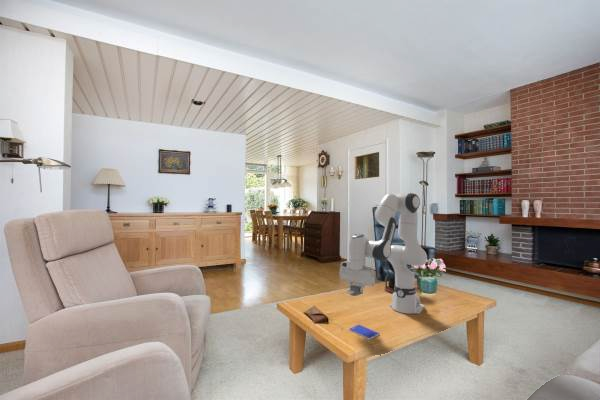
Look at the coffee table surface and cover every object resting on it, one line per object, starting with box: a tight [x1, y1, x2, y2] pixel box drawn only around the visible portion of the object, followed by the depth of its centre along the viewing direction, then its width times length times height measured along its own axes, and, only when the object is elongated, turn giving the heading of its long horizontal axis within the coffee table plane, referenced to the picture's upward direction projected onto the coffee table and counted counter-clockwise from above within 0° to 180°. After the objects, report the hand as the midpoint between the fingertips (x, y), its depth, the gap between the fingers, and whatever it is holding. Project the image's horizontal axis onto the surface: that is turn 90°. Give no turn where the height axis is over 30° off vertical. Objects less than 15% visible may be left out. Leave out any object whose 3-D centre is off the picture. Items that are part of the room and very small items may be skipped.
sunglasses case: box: [303, 305, 329, 325], centre depth 162 cm, size 18×7×7 cm
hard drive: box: [348, 324, 380, 340], centre depth 143 cm, size 2×8×12 cm
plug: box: [346, 283, 364, 297], centre depth 152 cm, size 11×4×4 cm, turn 135°
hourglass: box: [384, 259, 408, 295], centre depth 213 cm, size 16×16×25 cm
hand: (356, 290), depth 152 cm, fingers closed on plug, 4 cm apart
